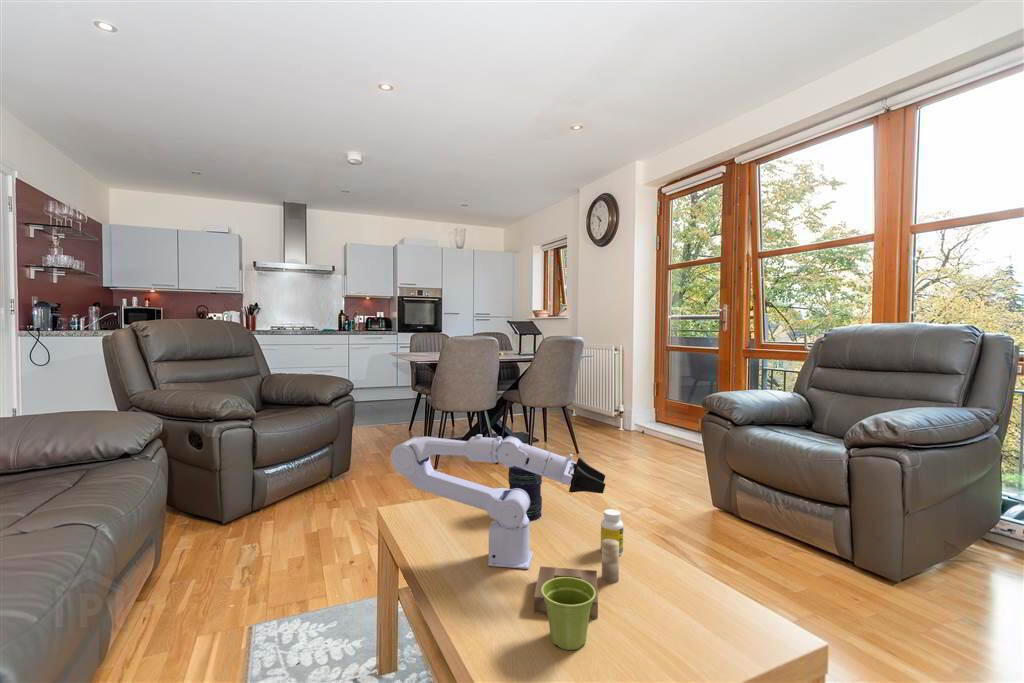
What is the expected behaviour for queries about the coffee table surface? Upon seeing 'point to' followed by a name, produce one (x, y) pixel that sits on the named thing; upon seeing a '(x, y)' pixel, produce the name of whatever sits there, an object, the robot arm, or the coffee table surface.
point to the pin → (610, 560)
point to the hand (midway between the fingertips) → (604, 484)
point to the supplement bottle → (612, 527)
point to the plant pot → (568, 610)
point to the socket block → (553, 572)
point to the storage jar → (528, 489)
